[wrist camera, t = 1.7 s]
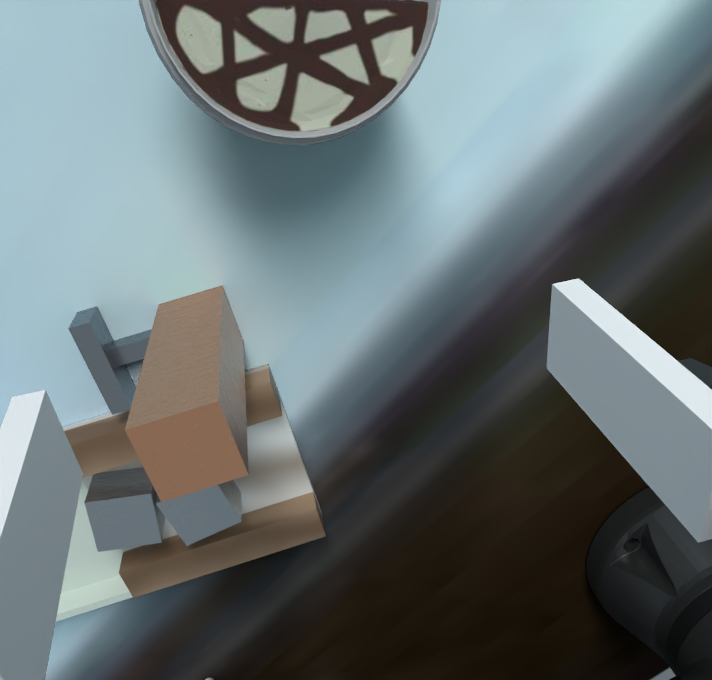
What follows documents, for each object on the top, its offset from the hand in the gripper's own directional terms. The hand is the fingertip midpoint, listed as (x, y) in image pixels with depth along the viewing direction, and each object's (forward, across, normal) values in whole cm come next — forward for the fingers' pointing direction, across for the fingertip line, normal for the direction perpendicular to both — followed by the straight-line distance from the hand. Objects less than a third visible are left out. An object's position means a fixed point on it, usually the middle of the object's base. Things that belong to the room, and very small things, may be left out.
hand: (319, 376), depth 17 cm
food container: (+24, -3, -4) cm, 24 cm away
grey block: (+21, +12, +21) cm, 32 cm away
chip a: (+21, +7, +21) cm, 31 cm away
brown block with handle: (+22, +7, +10) cm, 26 cm away
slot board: (+21, +7, +21) cm, 31 cm away
